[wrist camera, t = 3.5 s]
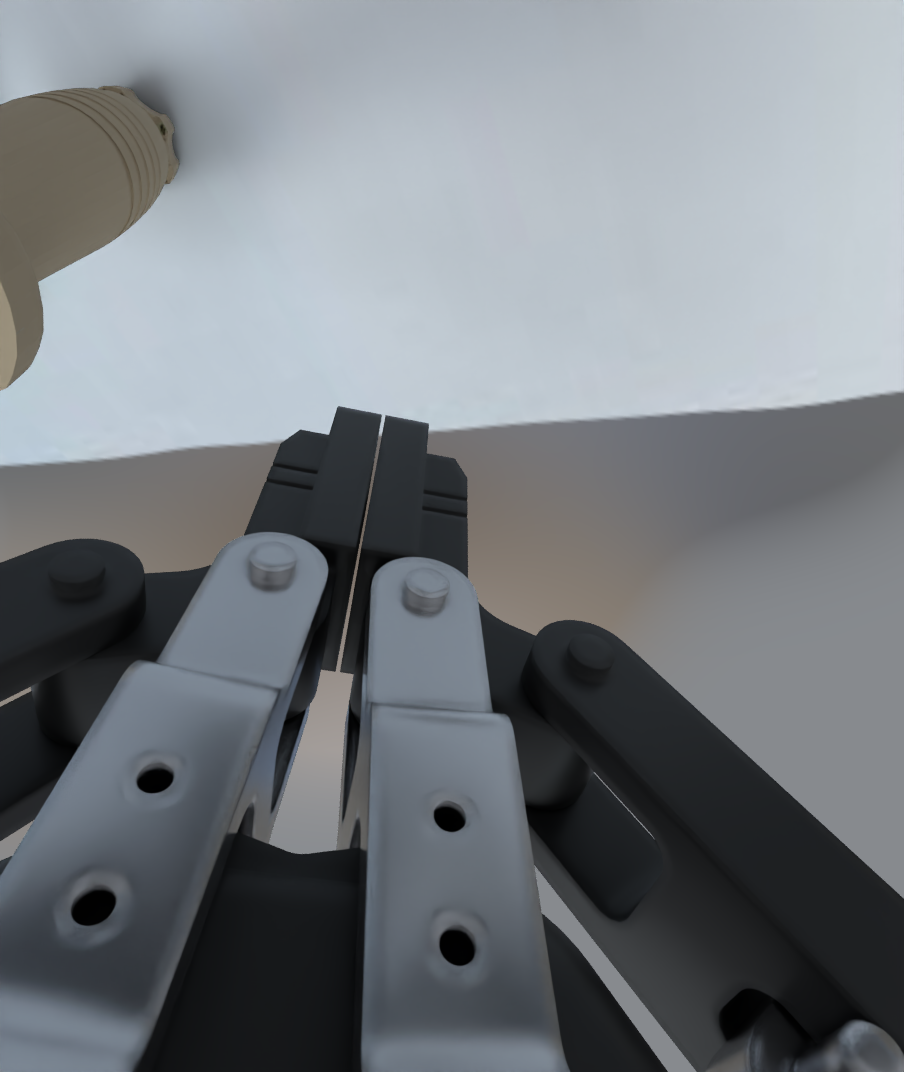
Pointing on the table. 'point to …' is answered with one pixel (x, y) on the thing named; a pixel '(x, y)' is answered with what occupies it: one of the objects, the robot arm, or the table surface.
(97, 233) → the handle
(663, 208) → the table surface
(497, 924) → the robot arm
